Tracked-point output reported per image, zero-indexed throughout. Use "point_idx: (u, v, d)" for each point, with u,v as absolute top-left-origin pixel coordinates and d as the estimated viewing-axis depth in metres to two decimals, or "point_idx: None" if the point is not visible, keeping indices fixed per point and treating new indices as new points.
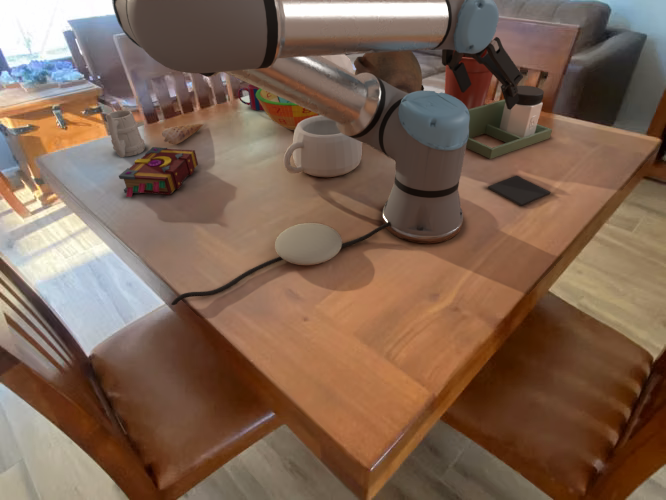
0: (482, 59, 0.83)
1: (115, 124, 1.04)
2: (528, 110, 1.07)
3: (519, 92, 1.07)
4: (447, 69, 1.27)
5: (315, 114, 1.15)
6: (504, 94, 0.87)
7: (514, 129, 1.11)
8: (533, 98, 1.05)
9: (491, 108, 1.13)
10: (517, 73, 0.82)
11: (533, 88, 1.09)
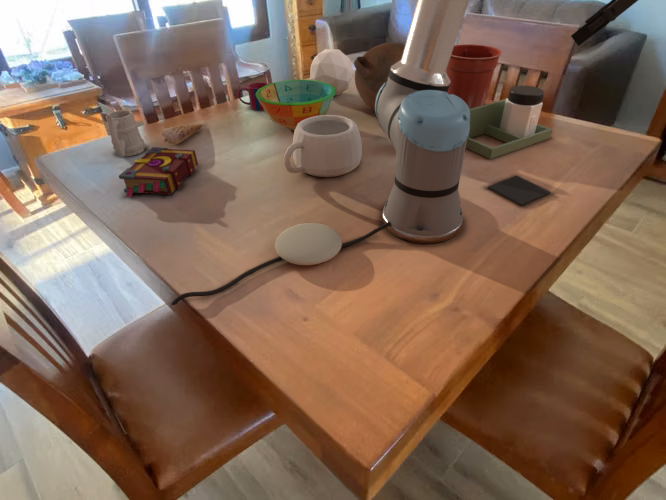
0: None
1: (115, 124, 1.04)
2: (528, 110, 1.07)
3: (519, 92, 1.07)
4: (447, 69, 1.27)
5: (315, 114, 1.15)
6: (591, 19, 0.86)
7: (514, 129, 1.11)
8: (533, 98, 1.05)
9: (491, 108, 1.13)
10: (618, 11, 0.81)
11: (533, 88, 1.09)
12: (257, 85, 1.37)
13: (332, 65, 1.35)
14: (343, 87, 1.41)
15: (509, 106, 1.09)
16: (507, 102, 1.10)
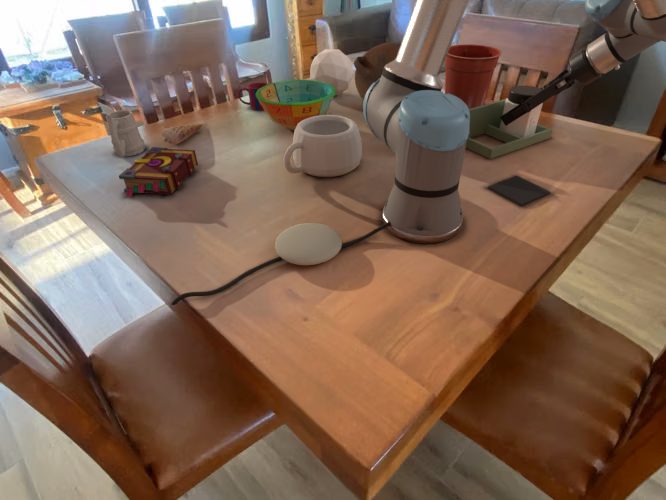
0: (551, 83, 1.00)
1: (115, 124, 1.04)
2: None
3: (519, 92, 1.07)
4: (447, 69, 1.27)
5: (315, 114, 1.15)
6: None
7: (514, 129, 1.11)
8: None
9: (491, 108, 1.13)
10: (532, 106, 1.00)
11: (533, 88, 1.09)
12: (257, 85, 1.37)
13: (332, 65, 1.35)
14: (343, 87, 1.41)
15: (509, 106, 1.09)
16: (507, 102, 1.10)
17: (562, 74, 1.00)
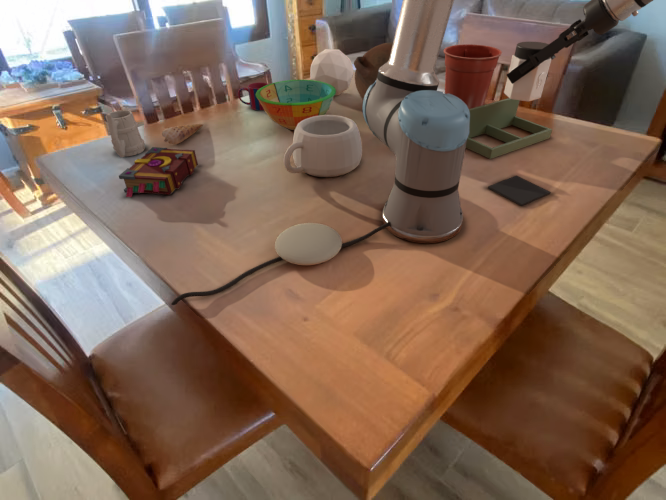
0: (562, 34, 0.95)
1: (115, 124, 1.04)
2: None
3: (526, 46, 1.01)
4: (447, 69, 1.27)
5: (315, 114, 1.15)
6: None
7: (520, 87, 1.05)
8: None
9: (491, 108, 1.13)
10: (540, 60, 0.96)
11: (541, 43, 1.03)
12: (257, 85, 1.37)
13: (332, 65, 1.35)
14: (343, 87, 1.41)
15: (515, 62, 1.03)
16: (513, 58, 1.04)
17: (575, 23, 0.93)
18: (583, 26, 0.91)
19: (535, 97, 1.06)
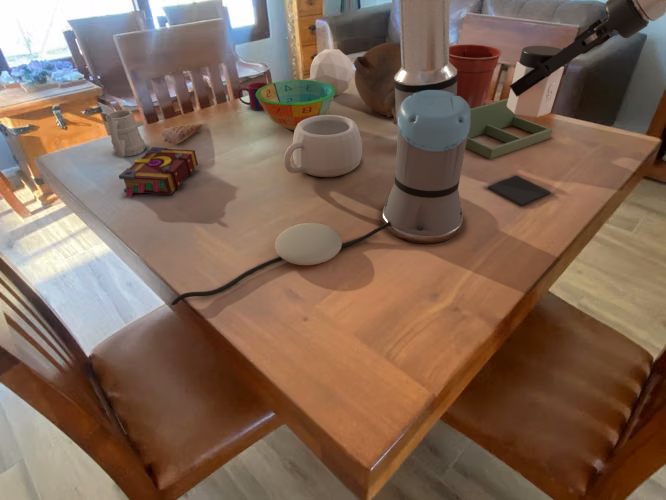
0: (578, 38, 0.78)
1: (115, 124, 1.04)
2: None
3: (534, 52, 0.83)
4: None
5: (315, 114, 1.15)
6: None
7: (527, 101, 0.87)
8: None
9: (491, 108, 1.13)
10: (552, 69, 0.79)
11: (552, 48, 0.86)
12: (257, 85, 1.37)
13: (332, 65, 1.35)
14: (343, 87, 1.41)
15: (521, 71, 0.86)
16: (518, 66, 0.87)
17: (595, 24, 0.76)
18: (605, 28, 0.74)
19: (544, 112, 0.89)
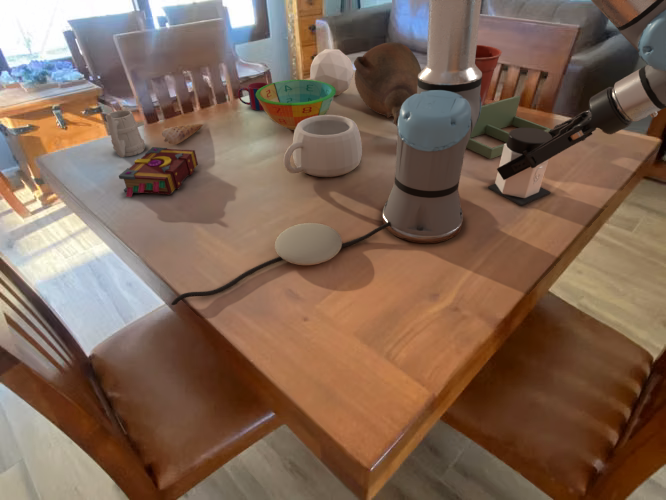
0: (563, 130, 0.77)
1: (115, 124, 1.04)
2: None
3: (520, 138, 0.83)
4: None
5: (315, 114, 1.15)
6: (516, 158, 0.83)
7: (514, 183, 0.88)
8: None
9: (491, 108, 1.13)
10: (538, 161, 0.77)
11: (539, 132, 0.85)
12: (257, 85, 1.37)
13: (332, 65, 1.35)
14: (343, 87, 1.41)
15: (508, 154, 0.86)
16: (505, 149, 0.87)
17: (579, 119, 0.76)
18: (589, 125, 0.74)
19: (532, 193, 0.89)
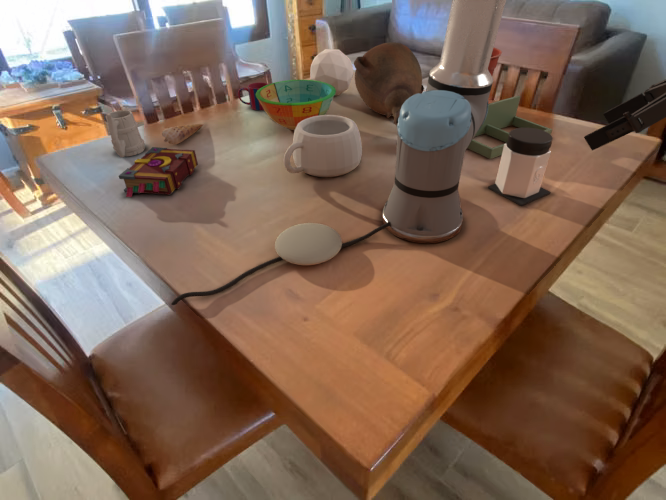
0: None
1: (115, 124, 1.04)
2: (532, 161, 0.83)
3: (521, 138, 0.83)
4: None
5: (315, 114, 1.15)
6: (611, 122, 0.69)
7: (514, 183, 0.88)
8: (538, 147, 0.82)
9: (491, 108, 1.13)
10: (647, 123, 0.64)
11: (539, 132, 0.85)
12: (257, 85, 1.37)
13: (332, 65, 1.35)
14: (343, 87, 1.41)
15: (508, 154, 0.86)
16: (505, 149, 0.87)
17: None
18: None
19: (532, 193, 0.89)
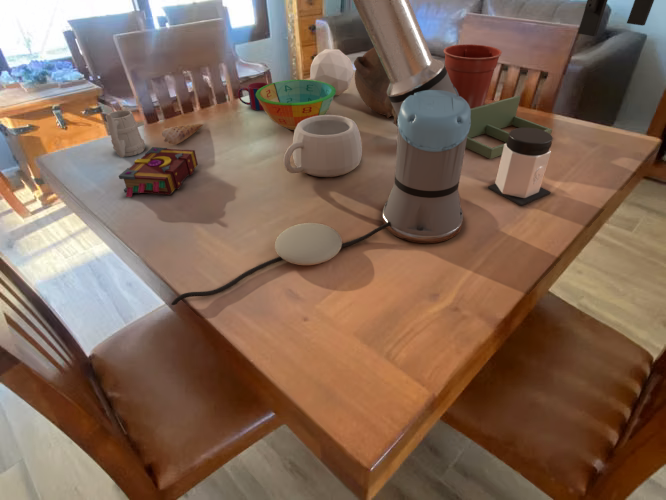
0: None
1: (115, 124, 1.04)
2: (532, 161, 0.83)
3: (521, 138, 0.83)
4: (447, 69, 1.27)
5: (315, 114, 1.15)
6: None
7: (514, 183, 0.88)
8: (538, 147, 0.82)
9: (491, 108, 1.13)
10: None
11: (539, 132, 0.85)
12: (257, 85, 1.37)
13: (332, 65, 1.35)
14: (343, 87, 1.41)
15: (508, 154, 0.86)
16: (506, 149, 0.87)
17: None
18: None
19: (532, 193, 0.89)
